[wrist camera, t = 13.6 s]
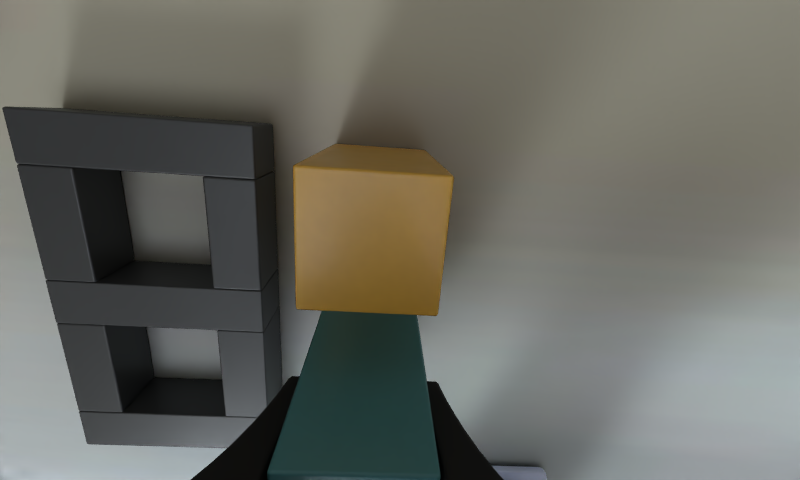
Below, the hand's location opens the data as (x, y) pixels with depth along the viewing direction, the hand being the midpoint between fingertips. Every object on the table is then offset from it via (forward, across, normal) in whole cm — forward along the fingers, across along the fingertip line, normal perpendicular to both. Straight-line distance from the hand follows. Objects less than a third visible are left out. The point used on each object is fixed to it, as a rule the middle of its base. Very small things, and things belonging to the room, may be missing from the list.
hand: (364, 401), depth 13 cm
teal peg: (+3, 0, 0) cm, 3 cm away
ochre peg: (+6, 0, -6) cm, 9 cm away
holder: (+6, +9, -2) cm, 11 cm away
